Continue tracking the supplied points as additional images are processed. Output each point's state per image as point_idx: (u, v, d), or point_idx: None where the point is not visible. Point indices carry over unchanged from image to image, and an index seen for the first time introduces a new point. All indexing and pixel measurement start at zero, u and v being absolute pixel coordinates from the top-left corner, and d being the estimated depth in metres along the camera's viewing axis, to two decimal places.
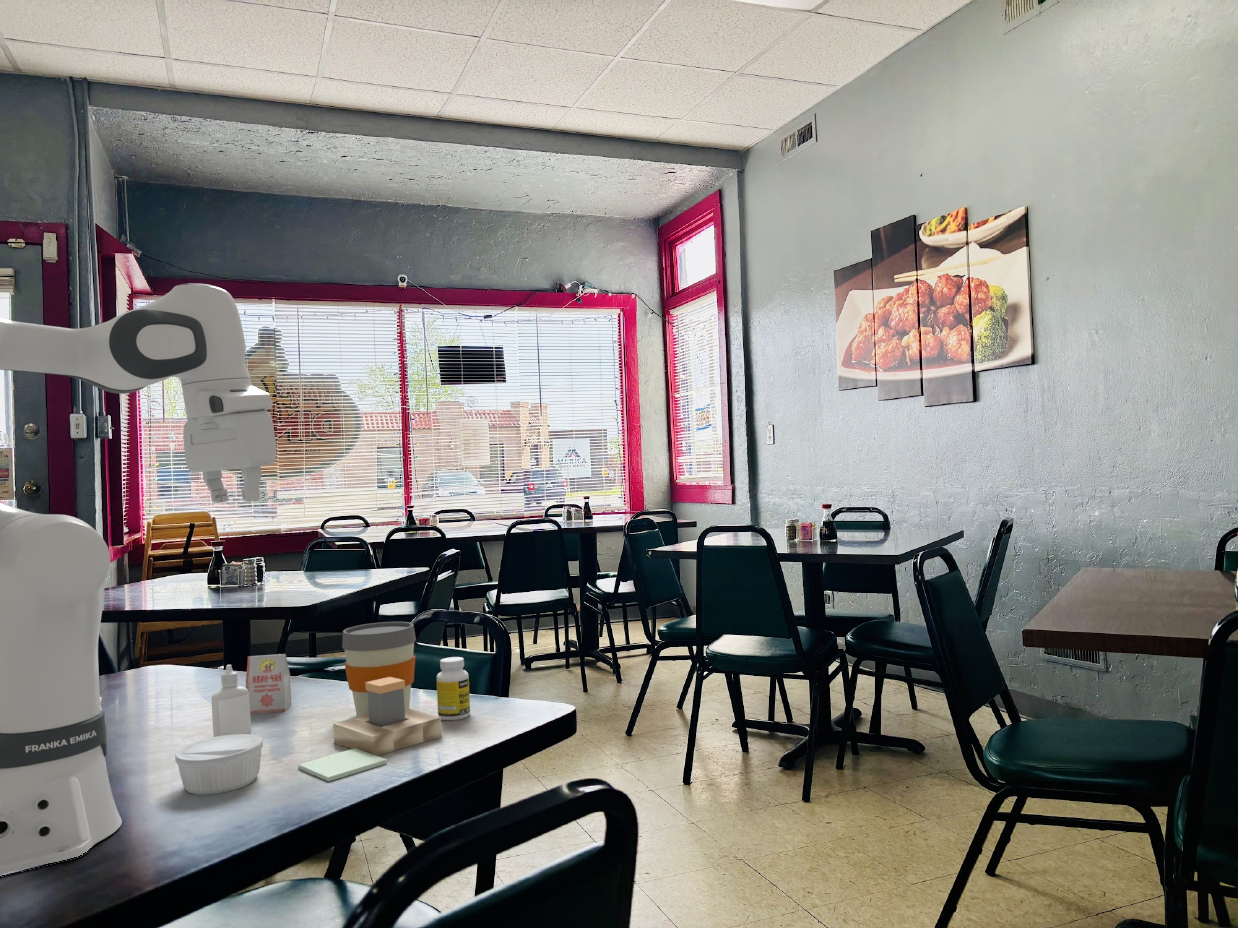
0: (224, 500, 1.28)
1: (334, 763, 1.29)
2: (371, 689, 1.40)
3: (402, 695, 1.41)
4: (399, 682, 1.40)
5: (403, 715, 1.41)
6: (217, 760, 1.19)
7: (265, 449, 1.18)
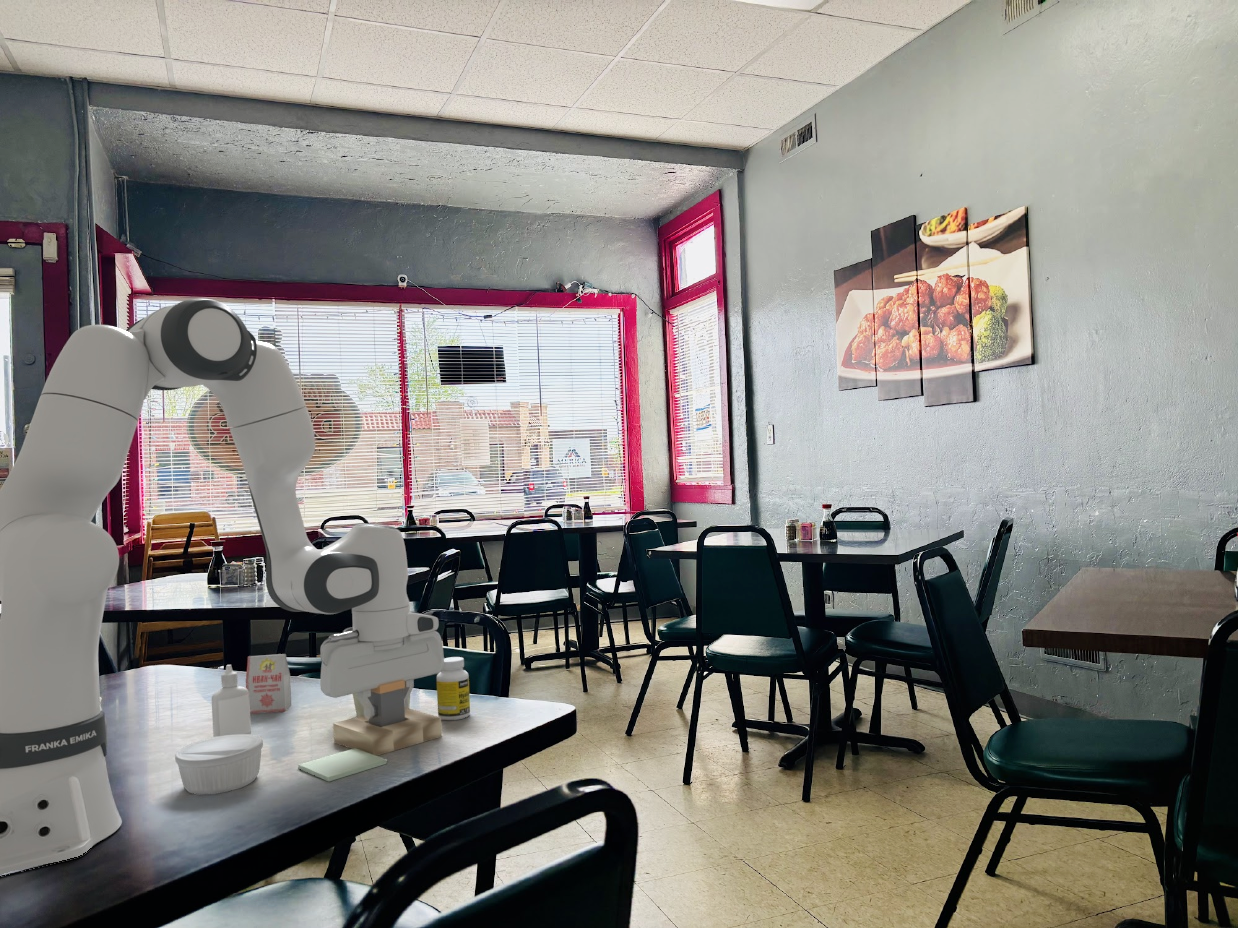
0: None
1: (334, 763, 1.29)
2: (371, 689, 1.40)
3: (402, 695, 1.41)
4: (399, 682, 1.40)
5: (403, 715, 1.41)
6: (217, 760, 1.19)
7: None
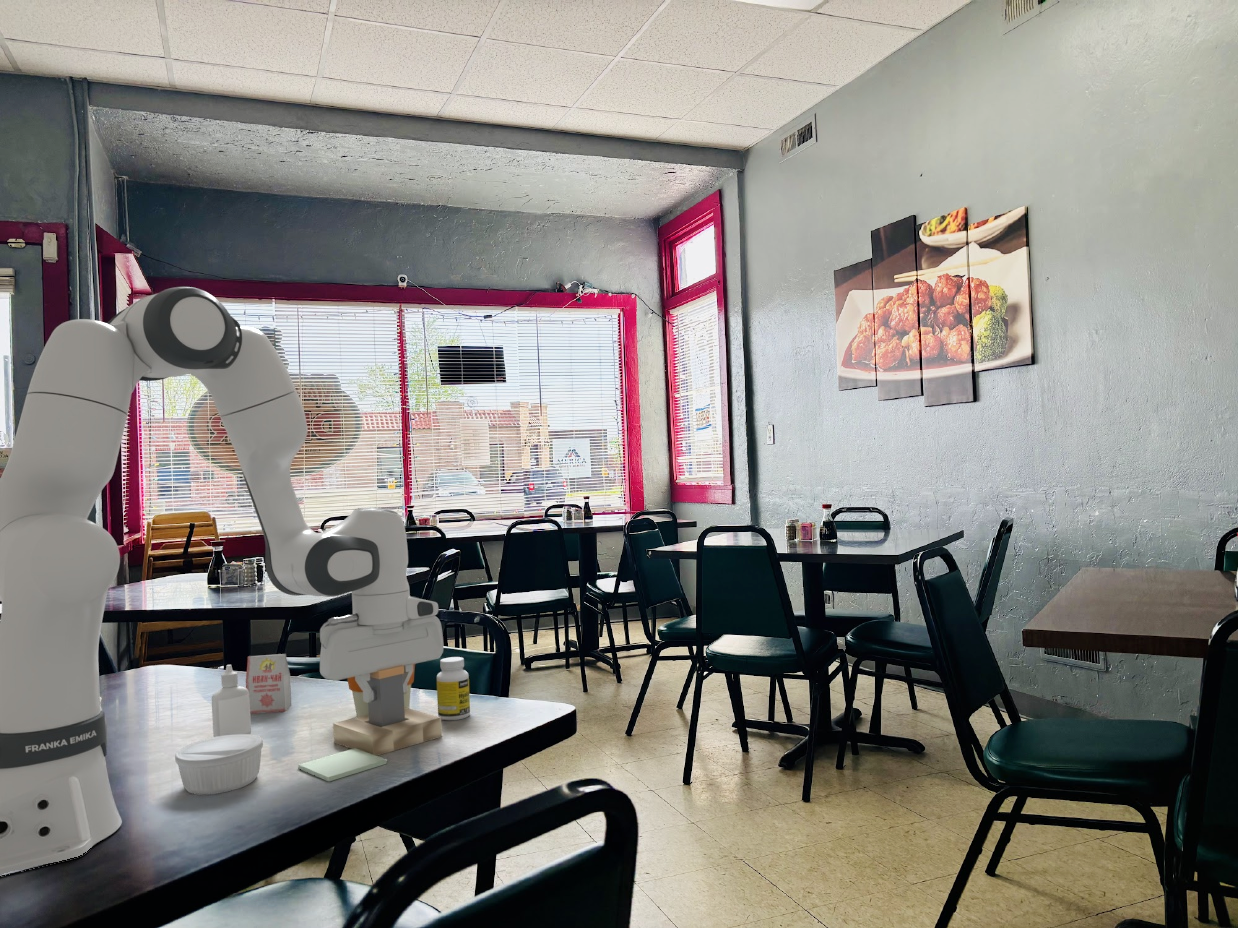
0: None
1: (334, 763, 1.29)
2: (370, 674, 1.40)
3: (401, 680, 1.41)
4: (398, 667, 1.40)
5: (402, 700, 1.41)
6: (217, 760, 1.19)
7: None
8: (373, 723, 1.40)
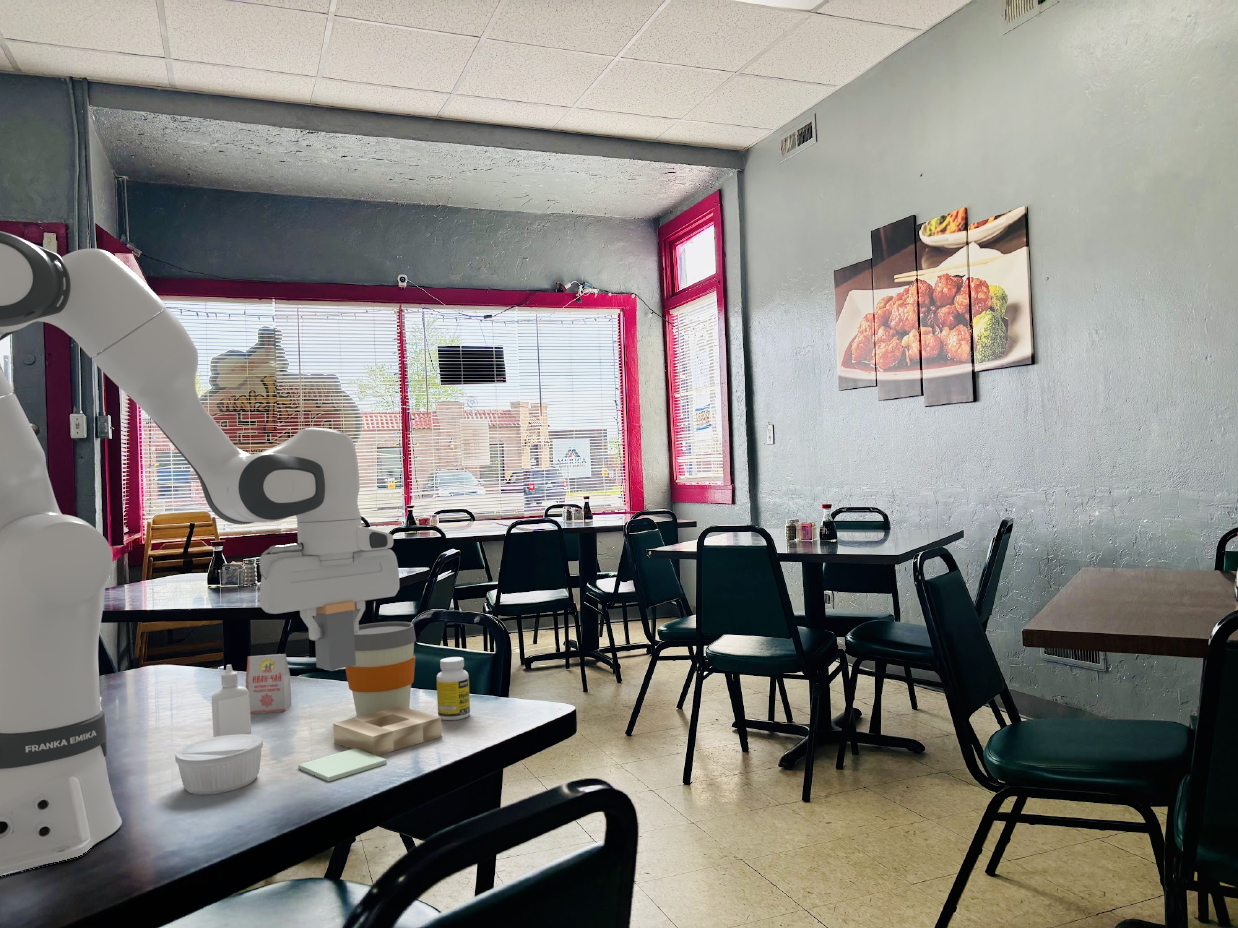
0: None
1: (334, 763, 1.29)
2: (317, 610, 1.28)
3: (351, 617, 1.29)
4: (348, 603, 1.28)
5: (352, 639, 1.29)
6: (217, 760, 1.19)
7: None
8: (320, 663, 1.28)
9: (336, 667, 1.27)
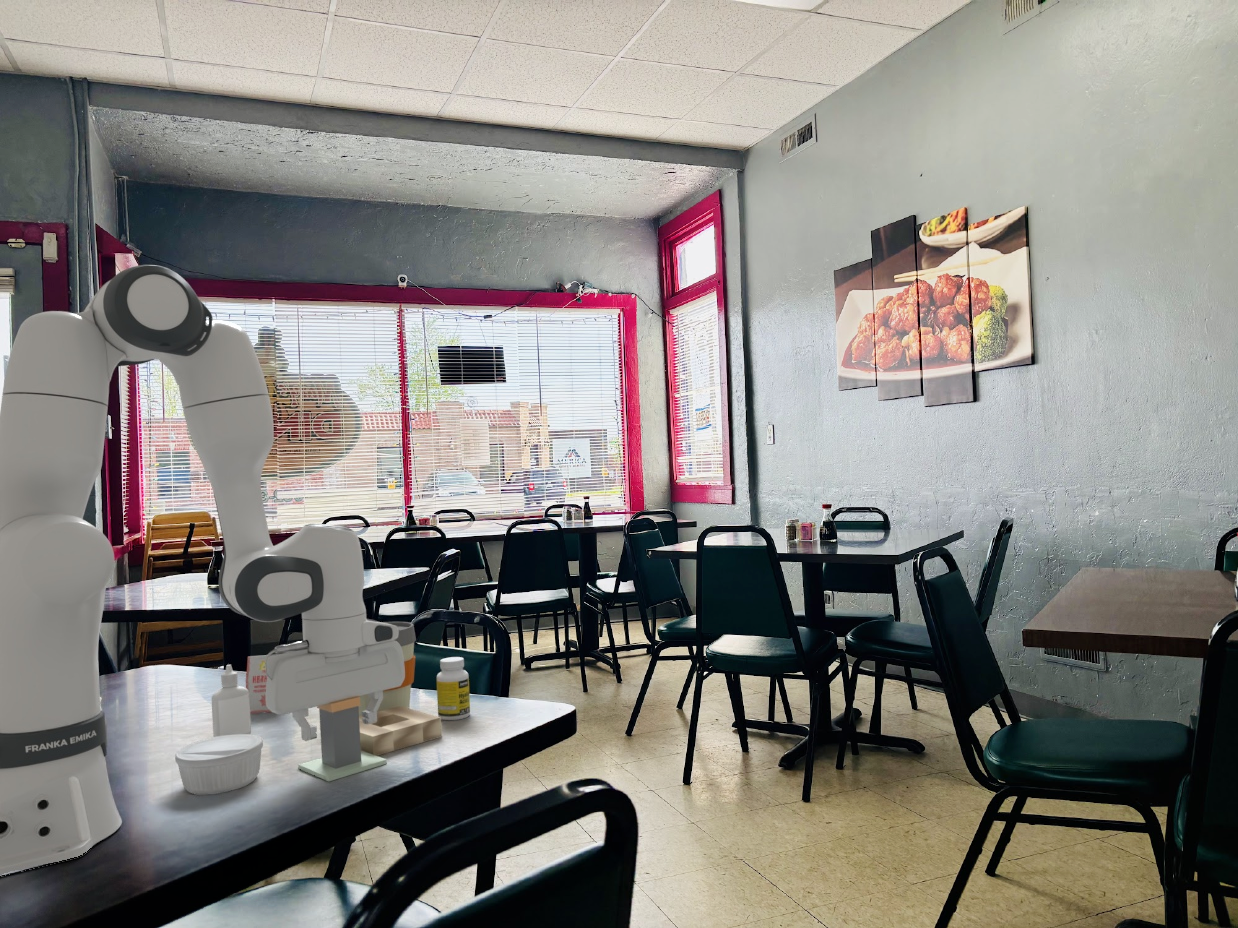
0: None
1: None
2: (323, 707, 1.28)
3: (357, 713, 1.29)
4: (353, 699, 1.28)
5: (358, 735, 1.29)
6: (217, 760, 1.19)
7: None
8: (326, 760, 1.28)
9: (342, 765, 1.27)
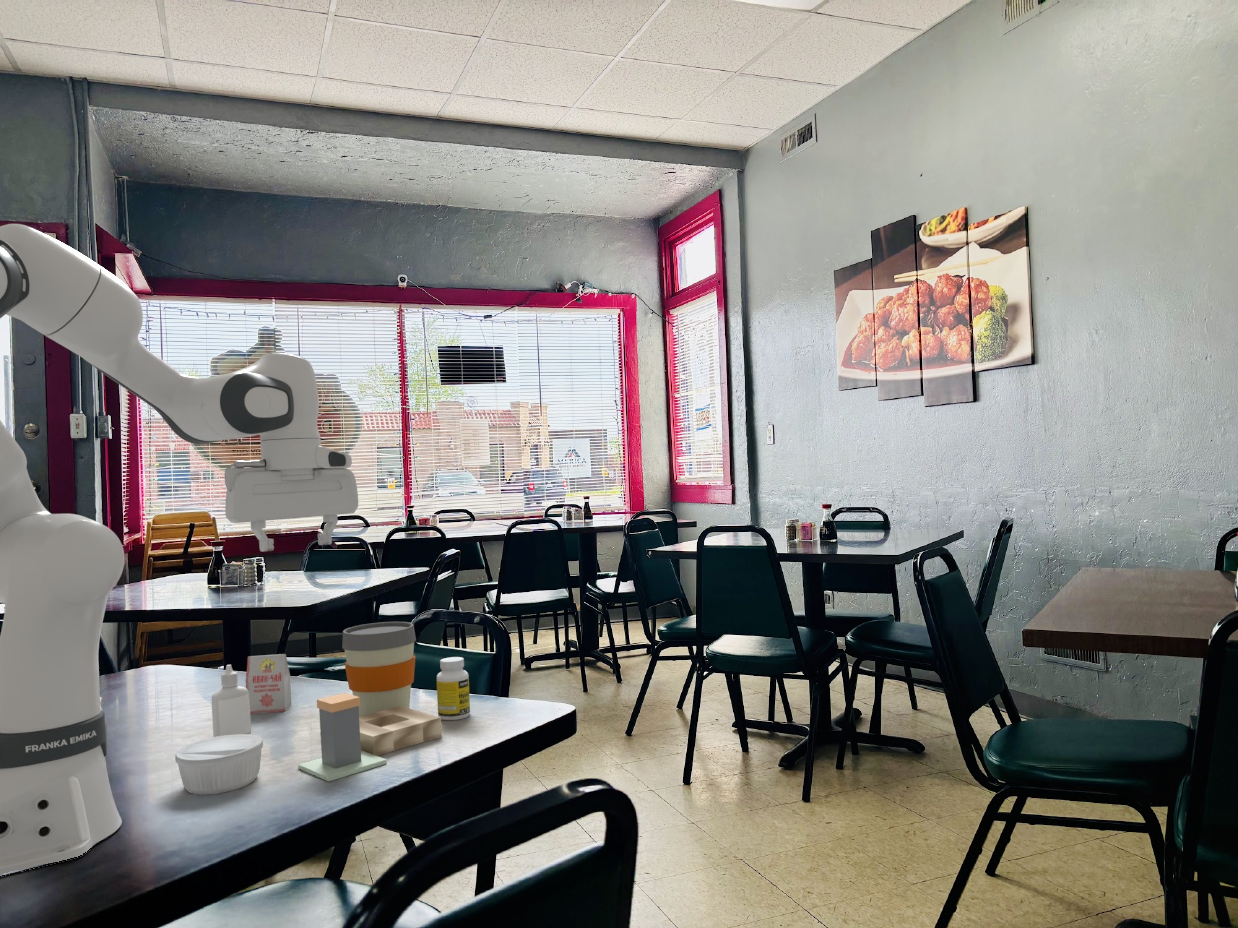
0: None
1: None
2: (323, 707, 1.28)
3: (357, 713, 1.29)
4: (353, 699, 1.28)
5: (358, 735, 1.29)
6: (217, 760, 1.19)
7: None
8: (326, 760, 1.28)
9: (342, 765, 1.27)
